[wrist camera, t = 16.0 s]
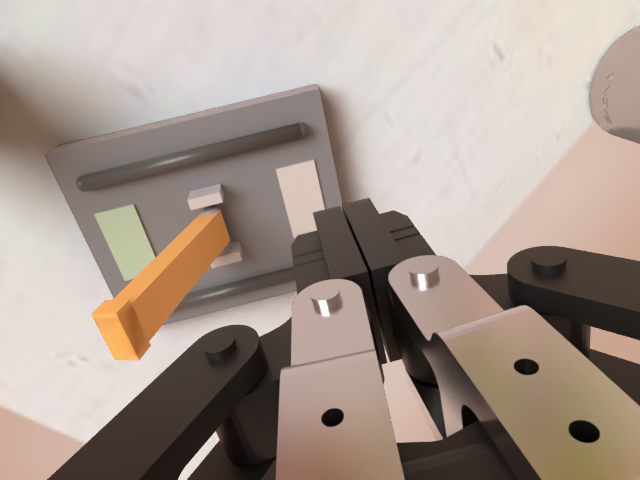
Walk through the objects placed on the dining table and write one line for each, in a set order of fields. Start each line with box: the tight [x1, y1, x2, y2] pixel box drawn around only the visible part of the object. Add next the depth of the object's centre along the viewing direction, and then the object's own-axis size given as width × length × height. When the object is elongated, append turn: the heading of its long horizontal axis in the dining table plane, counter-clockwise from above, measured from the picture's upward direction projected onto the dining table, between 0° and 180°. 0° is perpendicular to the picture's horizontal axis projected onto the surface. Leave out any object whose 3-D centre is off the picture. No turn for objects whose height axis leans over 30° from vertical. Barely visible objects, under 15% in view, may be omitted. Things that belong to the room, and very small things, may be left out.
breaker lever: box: [91, 205, 231, 360], centre depth 31 cm, size 2×3×14 cm, turn 12°
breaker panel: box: [45, 84, 343, 325], centre depth 38 cm, size 20×16×4 cm
